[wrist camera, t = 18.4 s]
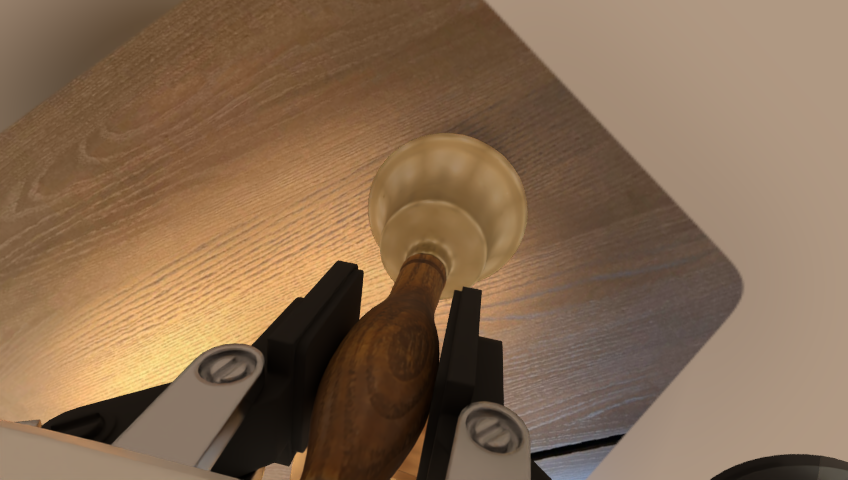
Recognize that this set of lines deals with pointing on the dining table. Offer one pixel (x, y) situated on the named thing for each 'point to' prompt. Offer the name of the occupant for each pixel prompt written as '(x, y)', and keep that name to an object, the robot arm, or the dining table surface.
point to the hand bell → (412, 299)
